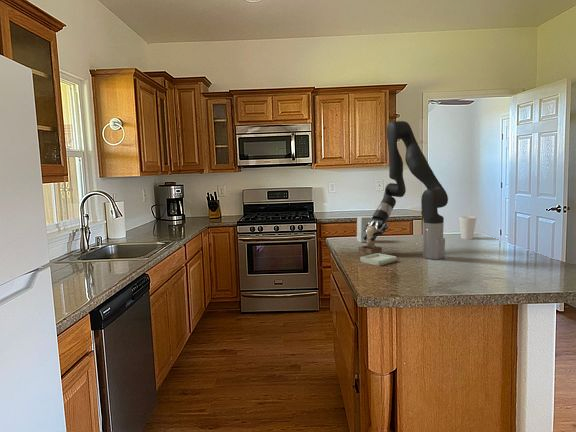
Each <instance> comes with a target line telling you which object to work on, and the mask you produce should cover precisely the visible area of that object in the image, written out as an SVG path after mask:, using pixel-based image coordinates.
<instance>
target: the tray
mask: <svg viewBox="0 0 576 432" xmlns="http://www.w3.org/2000/svg"><path fill="white" fill-rule="evenodd" d="M397 260H398V258H397V256H395V255H392V254H391V255H390V254H385V253H382V254H380V253H376V254H371V255H363V256H360V259H359V261H360V263H365V264H368V265H369V264H370V265H373V266H374V265H375V266H380V267H381V266H383V265H384V266H385V265H388V264H391V263H394V262H397Z"/></svg>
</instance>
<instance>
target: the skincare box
mask: <svg viewBox="0 0 576 432" xmlns="http://www.w3.org/2000/svg"><path fill="white" fill-rule="evenodd" d="M372 217H373V216H357V219H356V241H357V242H359V243H367V240H364V238H363V236H364V234H365V232H364V230H363V229H364V224H365V222H367V223H368V222H370V221H371V220H372Z"/></svg>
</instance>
